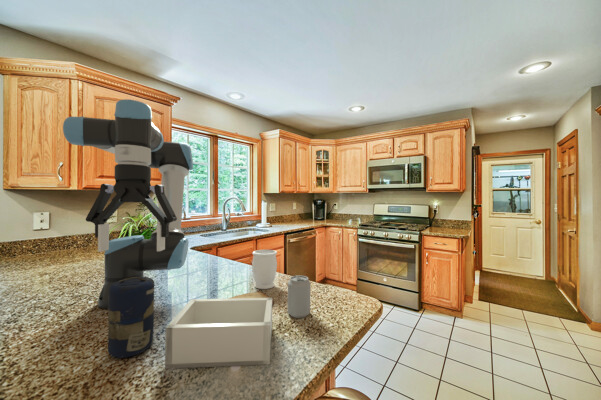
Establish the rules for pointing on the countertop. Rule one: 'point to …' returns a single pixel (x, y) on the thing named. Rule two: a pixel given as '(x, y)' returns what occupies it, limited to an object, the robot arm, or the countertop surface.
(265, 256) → the jar
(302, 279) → the can
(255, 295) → the bread slice
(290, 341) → the countertop surface
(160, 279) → the countertop surface
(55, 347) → the countertop surface
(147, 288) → the canister
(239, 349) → the open box
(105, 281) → the robot arm
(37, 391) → the countertop surface
